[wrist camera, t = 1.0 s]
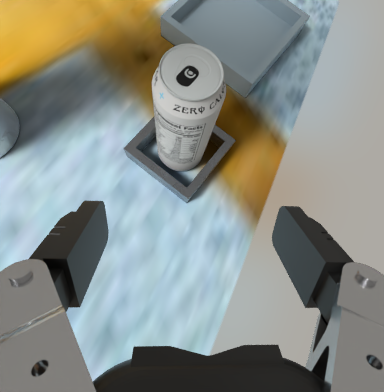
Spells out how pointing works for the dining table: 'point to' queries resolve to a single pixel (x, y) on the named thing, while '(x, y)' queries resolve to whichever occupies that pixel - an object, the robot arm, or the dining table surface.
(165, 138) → the energy drink can
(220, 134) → the can socket
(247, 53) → the tray
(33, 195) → the dining table surface
